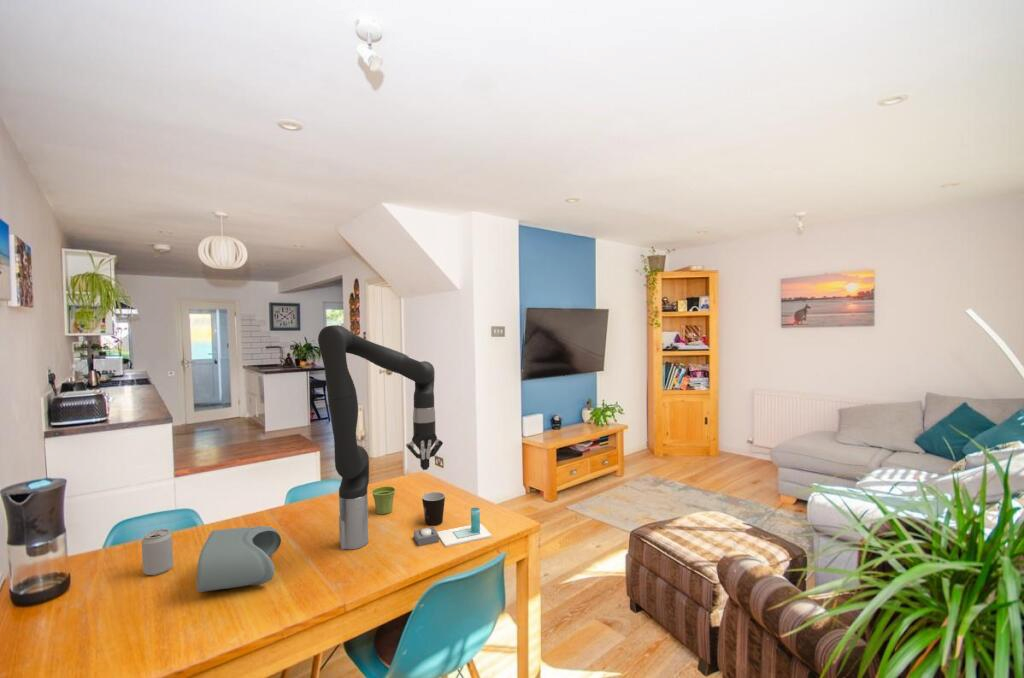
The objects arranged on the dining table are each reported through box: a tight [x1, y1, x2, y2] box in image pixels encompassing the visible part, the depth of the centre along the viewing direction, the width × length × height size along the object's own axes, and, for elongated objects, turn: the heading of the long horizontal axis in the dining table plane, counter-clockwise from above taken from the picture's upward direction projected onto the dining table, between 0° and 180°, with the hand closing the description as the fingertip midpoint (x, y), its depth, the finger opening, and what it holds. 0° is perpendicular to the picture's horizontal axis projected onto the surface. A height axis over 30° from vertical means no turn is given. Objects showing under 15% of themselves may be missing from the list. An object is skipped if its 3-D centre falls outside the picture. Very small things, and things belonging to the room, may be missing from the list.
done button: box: [421, 527, 431, 537], centre depth 167 cm, size 4×4×3 cm
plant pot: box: [371, 485, 397, 515], centre depth 191 cm, size 9×9×9 cm
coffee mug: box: [421, 491, 446, 527], centre depth 182 cm, size 12×9×10 cm
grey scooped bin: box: [196, 525, 282, 593], centre depth 144 cm, size 22×19×13 cm
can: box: [141, 528, 174, 576], centre depth 147 cm, size 8×8×12 cm
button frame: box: [413, 526, 440, 547], centre depth 167 cm, size 7×7×2 cm
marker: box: [470, 507, 481, 533], centre depth 171 cm, size 3×3×8 cm
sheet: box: [436, 522, 493, 548], centre depth 170 cm, size 17×11×1 cm, turn 115°
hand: (425, 469), depth 165 cm, fingers closed
